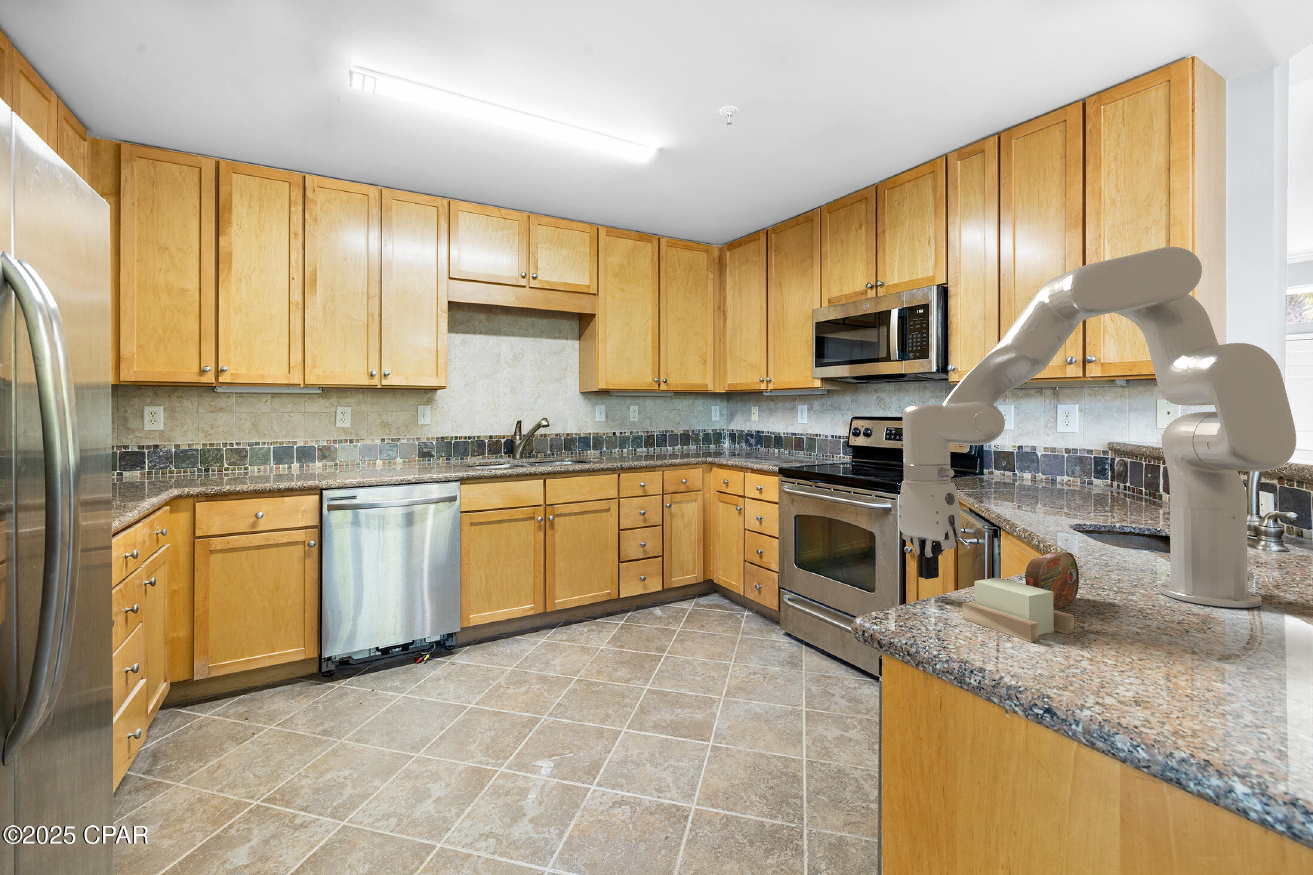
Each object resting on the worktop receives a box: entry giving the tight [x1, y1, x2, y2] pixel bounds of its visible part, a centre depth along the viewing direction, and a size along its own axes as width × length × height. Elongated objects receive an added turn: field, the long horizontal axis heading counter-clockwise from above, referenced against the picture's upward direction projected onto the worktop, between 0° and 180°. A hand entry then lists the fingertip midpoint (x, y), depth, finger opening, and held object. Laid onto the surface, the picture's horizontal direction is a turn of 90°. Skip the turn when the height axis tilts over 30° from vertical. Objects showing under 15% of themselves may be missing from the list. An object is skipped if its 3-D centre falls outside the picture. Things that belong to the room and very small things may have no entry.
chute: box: [962, 601, 1075, 643], centre depth 87 cm, size 9×11×2 cm
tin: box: [1024, 551, 1080, 611], centre depth 97 cm, size 15×3×8 cm, turn 125°
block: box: [973, 577, 1055, 636], centre depth 88 cm, size 5×9×6 cm, turn 20°
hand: (928, 577), depth 102 cm, fingers closed
